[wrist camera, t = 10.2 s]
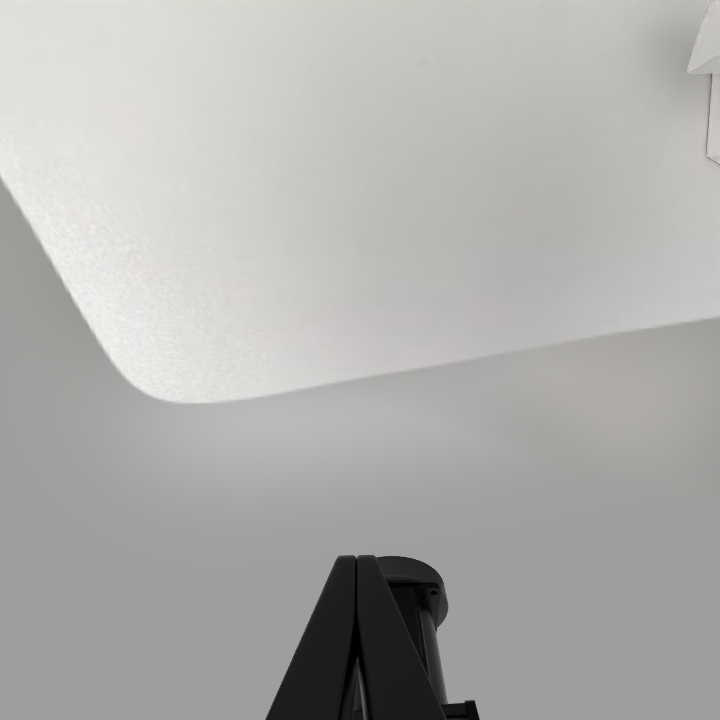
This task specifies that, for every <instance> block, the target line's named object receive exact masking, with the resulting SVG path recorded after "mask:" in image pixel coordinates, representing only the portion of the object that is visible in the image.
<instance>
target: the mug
mask: <svg viewBox="0 0 720 720" xmlns="http://www.w3.org/2000/svg"><path fill="white" fill-rule="evenodd" d="M709 73H713V74H712V87H711V101H710V115H709V128H708V142H707V157H708V158H710V159H712V160H713V161H715V162H716V163H718V164H720V0H712V1H711V3H710V6H709V8H708V11H707V13H706V16H705V18H704V21H703V23H702V26H701V28H700V31H699V33H698V36H697V39H696V42H695V45H694V49H693V52H692V55H691V59H690V62H689V65H688V69H687V72H686V74H709Z"/></svg>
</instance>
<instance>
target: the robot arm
mask: <svg viewBox="0 0 720 720" xmlns="http://www.w3.org/2000/svg"><path fill="white" fill-rule="evenodd" d="M440 597H441V590H440V585H439V584H438V583H435V582H423V583H387V582H386V579H385V577H384V575H383V572H382V570H381V568H380V565H379V563H378V561H377V559H376V557H375V556H374V555H359V556H358V557H357V560H356V557H355V556H353V555H352V556H351V555H347V556H339V557H338V558H337V559H336V561H335V564H334V566H333V568H332V570H331V572H330V575H329V577H328V579H327V581H326V584H325V586H324V588H323V591H322V593H321V595H320V597H319V600H318V602H317V604H316V606H315V609H314V611H313V613H312V615H311V618H310V620H309V622H308V624H307V627H306V629H305V632H304V634H303V636H302V638H301V640H300V642H299V645H298V647H297V649H296V652H295V654H294V656H293V658H292V661H291V663H290V665H289V667H288V670H287V672H286V674H285V676H284V679H283V681H282V683H281V685H280V688H279V690H278V692H277V695H276V697H275V699H274V701H273V703H272V706H271V708H270V710H269V713H268V715H267V717H266V719H265V720H480V719H479V715H478V712H477V708H476V704H475V701H474V700H469V701H465V703H458V704H457V703H456V704H448V702H447V696H446V691H445V684H444V679H443V673H442V667H441V661H440V656H439V649H438V644H437V638H436V631H437V623H438V614H439V606H440Z"/></svg>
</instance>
